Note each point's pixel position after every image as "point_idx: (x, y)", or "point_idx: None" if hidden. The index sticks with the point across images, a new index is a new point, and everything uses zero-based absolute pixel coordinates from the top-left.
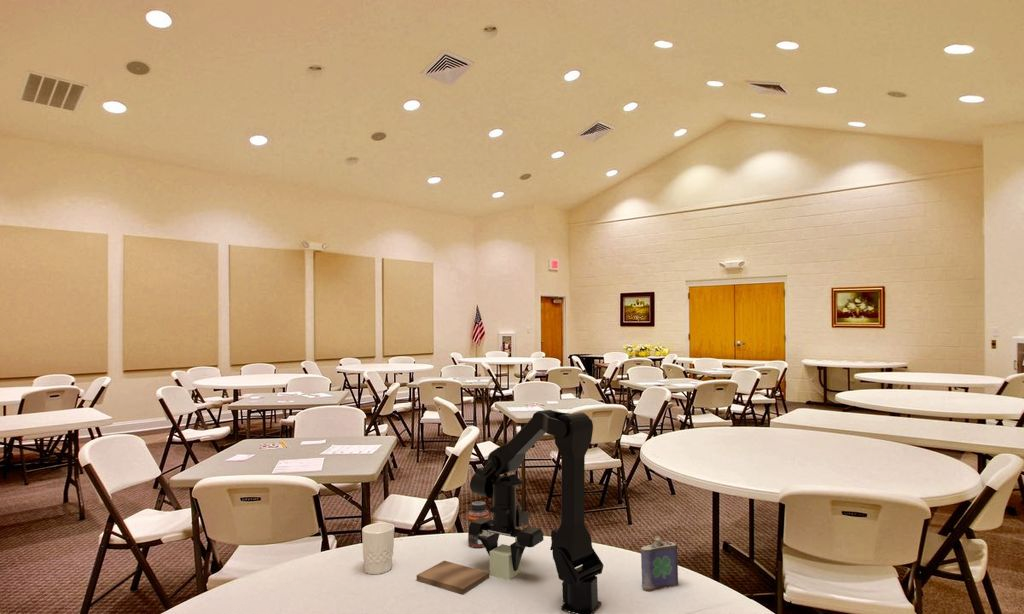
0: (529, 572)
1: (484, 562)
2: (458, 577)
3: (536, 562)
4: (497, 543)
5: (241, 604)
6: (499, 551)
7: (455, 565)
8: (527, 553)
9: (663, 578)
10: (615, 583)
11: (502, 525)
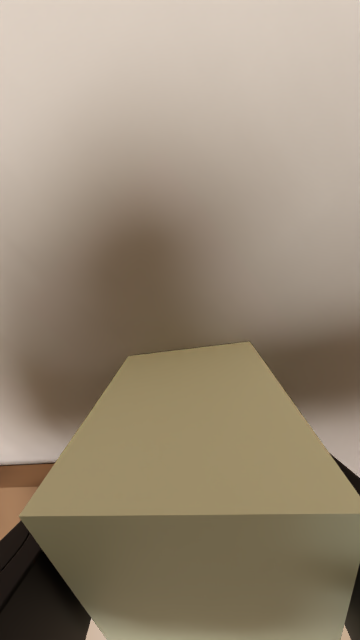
0: (297, 320)
1: (23, 368)
2: None
3: (250, 148)
4: (5, 613)
5: None
6: (181, 631)
7: (12, 499)
8: (61, 25)
9: None
10: None
11: None
